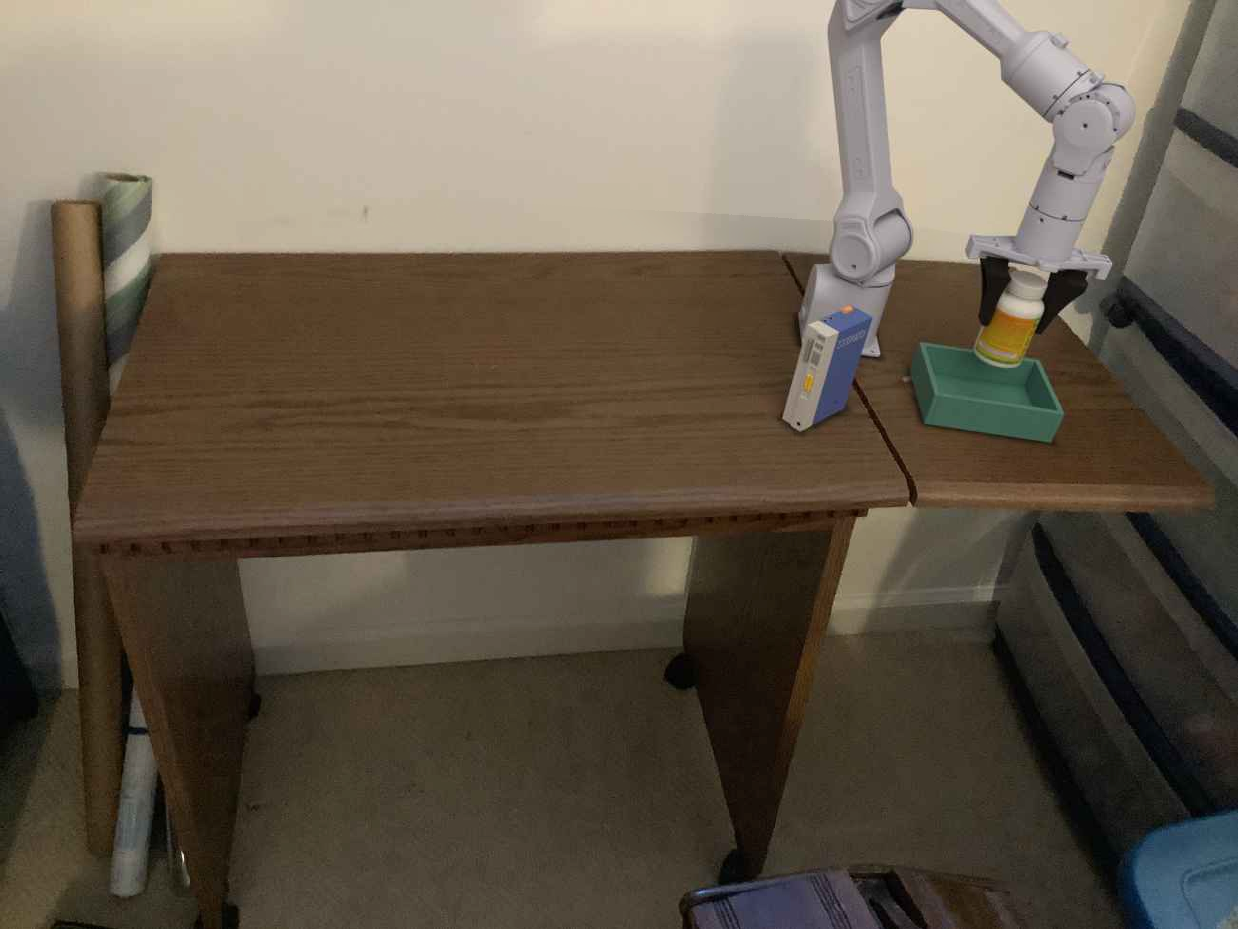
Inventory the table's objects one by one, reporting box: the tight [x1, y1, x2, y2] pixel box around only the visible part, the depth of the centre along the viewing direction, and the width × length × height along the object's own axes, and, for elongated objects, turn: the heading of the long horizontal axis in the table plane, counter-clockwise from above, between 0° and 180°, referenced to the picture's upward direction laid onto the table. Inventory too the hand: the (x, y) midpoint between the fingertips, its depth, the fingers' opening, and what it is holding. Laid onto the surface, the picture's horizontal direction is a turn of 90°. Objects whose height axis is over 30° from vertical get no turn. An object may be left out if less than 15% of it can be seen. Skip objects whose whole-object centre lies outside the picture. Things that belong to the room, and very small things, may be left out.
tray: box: [908, 341, 1065, 444], centre depth 115 cm, size 14×11×4 cm
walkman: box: [781, 306, 873, 432], centre depth 106 cm, size 8×3×12 cm, turn 133°
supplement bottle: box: [973, 270, 1048, 368], centre depth 110 cm, size 5×5×10 cm
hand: (1009, 325), depth 110 cm, fingers closed on supplement bottle, 5 cm apart
